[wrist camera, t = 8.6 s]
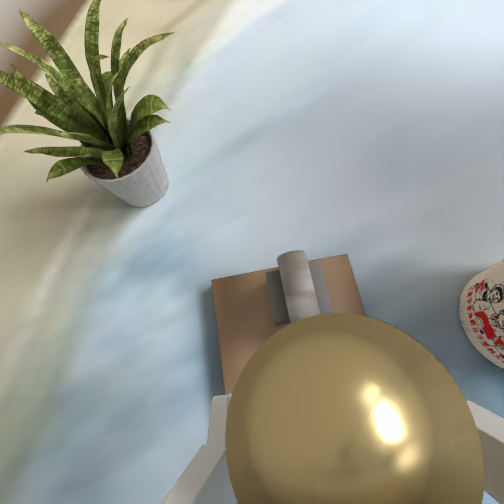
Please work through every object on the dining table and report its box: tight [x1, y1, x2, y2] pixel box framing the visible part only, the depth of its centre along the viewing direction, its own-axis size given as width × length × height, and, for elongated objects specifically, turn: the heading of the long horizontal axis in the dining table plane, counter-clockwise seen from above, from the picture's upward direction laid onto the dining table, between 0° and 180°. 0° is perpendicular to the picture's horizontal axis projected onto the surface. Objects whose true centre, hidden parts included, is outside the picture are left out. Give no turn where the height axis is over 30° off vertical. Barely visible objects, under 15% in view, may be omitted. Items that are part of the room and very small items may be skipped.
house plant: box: [0, 0, 172, 207], centre depth 27 cm, size 14×14×16 cm
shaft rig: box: [211, 250, 366, 395], centre depth 22 cm, size 12×20×7 cm, turn 9°
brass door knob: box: [225, 313, 484, 504], centre depth 10 cm, size 5×5×9 cm
